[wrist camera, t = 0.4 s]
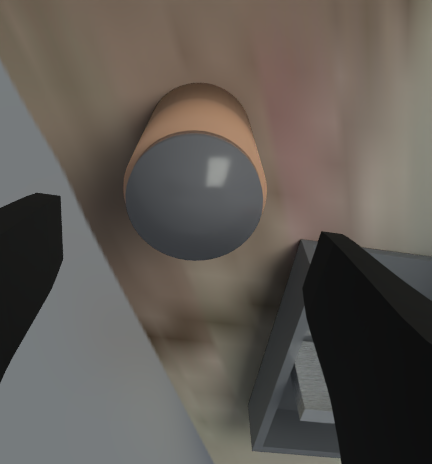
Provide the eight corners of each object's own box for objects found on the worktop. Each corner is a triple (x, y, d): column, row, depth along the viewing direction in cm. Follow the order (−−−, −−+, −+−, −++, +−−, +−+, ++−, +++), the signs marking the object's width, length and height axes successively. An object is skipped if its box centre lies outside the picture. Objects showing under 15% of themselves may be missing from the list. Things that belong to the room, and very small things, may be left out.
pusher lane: (480, 263, 24) (519, 302, 21) (386, 418, 31) (404, 463, 28) (301, 239, 23) (314, 277, 20) (248, 405, 30) (252, 450, 27)
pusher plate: (423, 351, 26) (470, 431, 22) (413, 367, 27) (456, 448, 22) (290, 336, 26) (308, 415, 21) (284, 353, 26) (300, 434, 22)
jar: (260, 92, 19) (285, 144, 12) (240, 189, 21) (252, 272, 15) (152, 74, 18) (122, 118, 12) (145, 175, 21) (116, 255, 15)
